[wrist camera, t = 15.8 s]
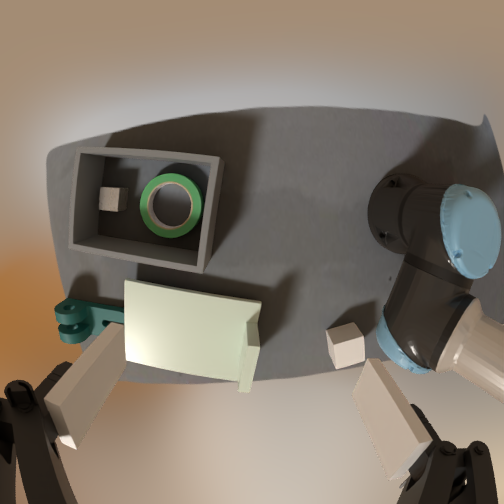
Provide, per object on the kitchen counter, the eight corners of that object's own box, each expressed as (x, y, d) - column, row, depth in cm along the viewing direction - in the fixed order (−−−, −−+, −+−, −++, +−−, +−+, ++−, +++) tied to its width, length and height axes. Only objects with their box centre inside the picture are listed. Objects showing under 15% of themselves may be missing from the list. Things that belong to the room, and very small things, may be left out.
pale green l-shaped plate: (260, 298, 52) (265, 325, 41) (244, 374, 56) (245, 408, 45) (129, 275, 50) (106, 296, 39) (130, 353, 54) (112, 382, 43)
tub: (225, 162, 46) (219, 156, 38) (210, 258, 50) (202, 273, 41) (102, 151, 45) (76, 146, 36) (93, 238, 49) (68, 248, 40)
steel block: (128, 188, 47) (119, 188, 43) (126, 209, 48) (117, 211, 44) (110, 186, 47) (100, 186, 43) (108, 207, 48) (98, 209, 44)
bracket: (72, 324, 54) (54, 339, 46) (68, 297, 52) (48, 311, 44) (140, 338, 54) (127, 357, 46) (137, 309, 53) (122, 326, 45)
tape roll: (143, 232, 49) (138, 235, 47) (147, 172, 47) (141, 171, 44) (201, 238, 50) (198, 241, 47) (206, 175, 47) (204, 174, 45)
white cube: (353, 321, 53) (363, 335, 48) (355, 345, 55) (365, 360, 49) (325, 329, 54) (333, 345, 48) (328, 353, 55) (336, 369, 49)
